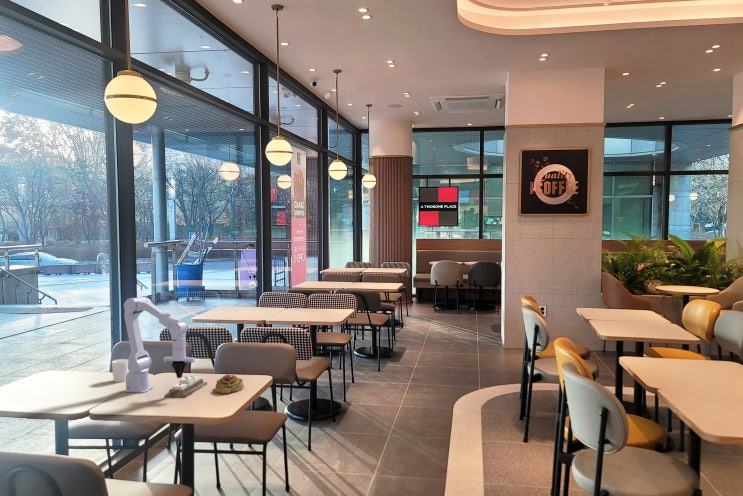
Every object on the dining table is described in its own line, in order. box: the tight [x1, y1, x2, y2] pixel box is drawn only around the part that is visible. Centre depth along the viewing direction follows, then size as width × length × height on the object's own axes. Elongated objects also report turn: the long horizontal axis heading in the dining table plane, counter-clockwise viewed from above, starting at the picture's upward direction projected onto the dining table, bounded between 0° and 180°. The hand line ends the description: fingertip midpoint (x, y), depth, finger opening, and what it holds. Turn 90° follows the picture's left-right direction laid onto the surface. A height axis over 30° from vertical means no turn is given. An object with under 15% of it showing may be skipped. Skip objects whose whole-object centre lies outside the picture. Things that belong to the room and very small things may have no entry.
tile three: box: [190, 375, 201, 383], centre depth 255 cm, size 5×5×3 cm
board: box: [164, 378, 208, 399], centre depth 249 cm, size 10×21×3 cm, turn 170°
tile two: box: [179, 376, 195, 386], centre depth 249 cm, size 5×5×3 cm
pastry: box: [214, 373, 245, 395], centre depth 250 cm, size 13×15×8 cm
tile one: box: [172, 383, 187, 390], centre depth 243 cm, size 5×5×3 cm
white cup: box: [111, 358, 130, 383], centre depth 267 cm, size 8×8×10 cm
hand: (179, 377), depth 243 cm, fingers closed
